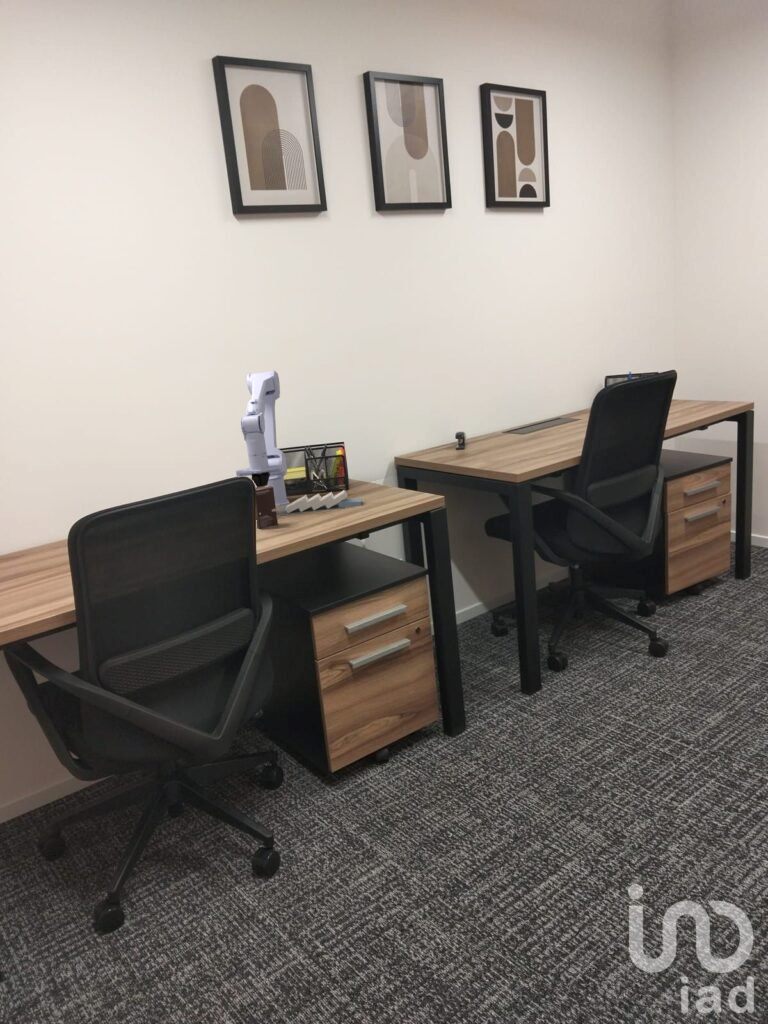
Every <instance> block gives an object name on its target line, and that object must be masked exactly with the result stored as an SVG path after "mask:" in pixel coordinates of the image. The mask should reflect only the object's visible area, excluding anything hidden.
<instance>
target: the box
mask: <svg viewBox="0 0 768 1024" xmlns="http://www.w3.org/2000/svg"><path fill="white" fill-rule="evenodd" d="M255 488H256V520H257V528H256V529H257V530H264V529H268V528H272V527H275V526H278V525H279V523H278V516H277V508H276V505H275V497H274V489H273V487H272V486H269V485H266V486H261V487H257V486H256V487H255Z"/></svg>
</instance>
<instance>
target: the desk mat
mask: <svg viewBox="0 0 768 1024" xmlns="http://www.w3.org/2000/svg"><path fill="white" fill-rule="evenodd" d="M345 499H348V497H346V498H345ZM289 504H290V503H289ZM289 504H283V505H279V507H278V509H277V510H276V513H277V517H280V516H289V515H298V514H299V515H300V514H308V513H316V512H325V511H332V510H334V511H335V510H341V509H346V507H339V502H338V503H337V504H335V505H333V506H332V507H330V508H327V507H326V505H323V506H321V507H319V508H318V509H316V510H313V508H312V507H309V508H307V509H306V510H304V511H302V512H301V511H300V510H299V508H297V509H295V510H293V511H292V512H290V513H287V511H286V507H287V505H289Z"/></svg>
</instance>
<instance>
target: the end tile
mask: <svg viewBox="0 0 768 1024" xmlns="http://www.w3.org/2000/svg"><path fill="white" fill-rule="evenodd" d="M362 501H363V500H362V497H359V498H357V497H355V498H353V497H351V498H347V499H343V500H342V501H340V502H339V507H345V508H353V507H360V506H362V503H363V502H362Z"/></svg>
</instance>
